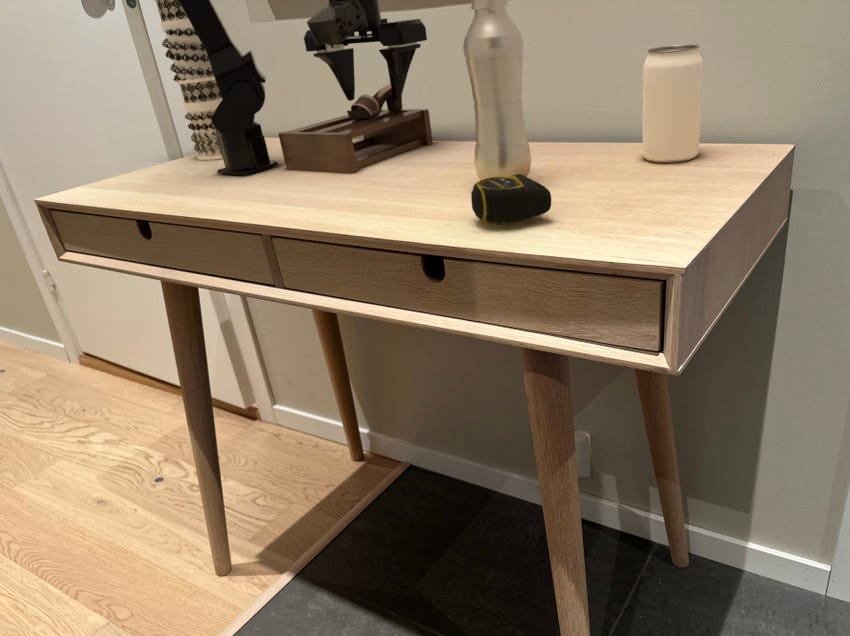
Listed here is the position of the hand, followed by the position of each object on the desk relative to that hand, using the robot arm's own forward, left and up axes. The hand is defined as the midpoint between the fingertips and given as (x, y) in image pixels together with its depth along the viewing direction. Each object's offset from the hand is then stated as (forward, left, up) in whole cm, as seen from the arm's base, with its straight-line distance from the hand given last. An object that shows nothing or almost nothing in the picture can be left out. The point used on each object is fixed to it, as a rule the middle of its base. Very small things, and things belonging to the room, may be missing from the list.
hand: (373, 99), depth 104 cm
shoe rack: (0, -5, -7) cm, 8 cm away
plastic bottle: (+31, -14, -7) cm, 35 cm away
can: (+45, +1, -7) cm, 46 cm away
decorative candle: (-29, -7, -7) cm, 31 cm away
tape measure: (+39, -25, -7) cm, 47 cm away
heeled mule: (0, 0, -2) cm, 2 cm away
